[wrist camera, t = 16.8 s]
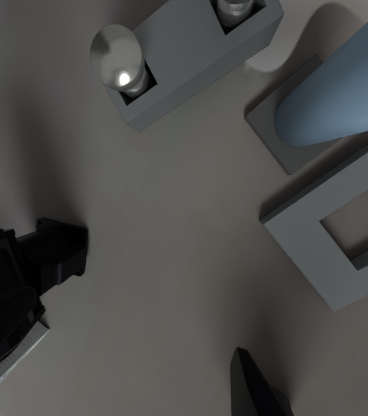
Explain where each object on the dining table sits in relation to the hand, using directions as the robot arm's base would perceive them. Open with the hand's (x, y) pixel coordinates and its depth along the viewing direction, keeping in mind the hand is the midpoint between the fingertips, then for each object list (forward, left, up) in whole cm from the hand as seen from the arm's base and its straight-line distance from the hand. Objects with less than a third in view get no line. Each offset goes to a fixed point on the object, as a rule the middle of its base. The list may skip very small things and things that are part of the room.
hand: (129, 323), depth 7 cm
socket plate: (+17, +4, -13) cm, 22 cm away
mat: (+9, +13, -13) cm, 20 cm away
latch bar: (-3, +16, -13) cm, 21 cm away
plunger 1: (-6, +13, -11) cm, 18 cm away
